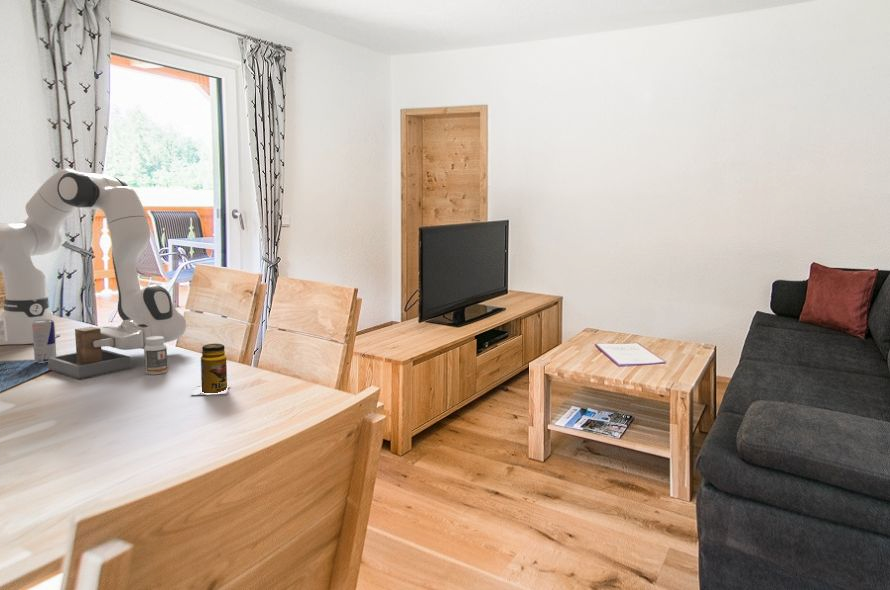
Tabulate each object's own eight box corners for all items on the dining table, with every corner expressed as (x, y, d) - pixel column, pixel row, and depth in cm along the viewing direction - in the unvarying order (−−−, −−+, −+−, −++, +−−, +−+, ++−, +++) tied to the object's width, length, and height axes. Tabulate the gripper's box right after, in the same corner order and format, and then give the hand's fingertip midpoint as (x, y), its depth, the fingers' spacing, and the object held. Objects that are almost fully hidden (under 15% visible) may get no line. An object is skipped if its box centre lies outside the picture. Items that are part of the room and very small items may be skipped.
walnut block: (77, 367, 166) (74, 328, 165) (93, 364, 170) (91, 326, 168) (85, 370, 164) (83, 331, 162) (102, 366, 168) (100, 328, 166)
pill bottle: (172, 371, 167) (171, 337, 166) (154, 376, 162) (153, 340, 161) (158, 368, 170) (156, 334, 168) (140, 373, 165) (138, 338, 163)
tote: (48, 369, 165) (47, 357, 165) (99, 359, 177) (98, 348, 177) (79, 379, 157) (78, 367, 157) (130, 368, 169) (130, 356, 168)
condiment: (226, 395, 148) (225, 348, 147) (190, 396, 147) (188, 349, 145) (230, 386, 155) (229, 341, 154) (195, 387, 154) (194, 342, 152)
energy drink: (61, 359, 176) (58, 319, 174) (47, 364, 171) (44, 323, 169) (44, 358, 177) (41, 318, 175) (30, 363, 171) (27, 322, 170)
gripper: (112, 319, 182) (64, 326, 170) (153, 327, 171) (104, 335, 160) (113, 339, 183) (66, 347, 171) (154, 349, 172) (106, 358, 160)
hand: (85, 342), depth 165 cm, fingers open, 6 cm apart
